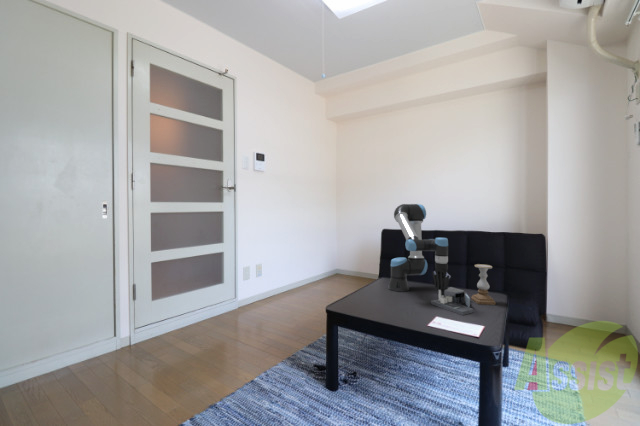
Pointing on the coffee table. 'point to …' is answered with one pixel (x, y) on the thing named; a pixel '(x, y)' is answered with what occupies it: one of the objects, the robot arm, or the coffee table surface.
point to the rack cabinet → (455, 295)
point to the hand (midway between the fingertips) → (441, 300)
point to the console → (453, 307)
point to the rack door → (467, 300)
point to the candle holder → (483, 287)
